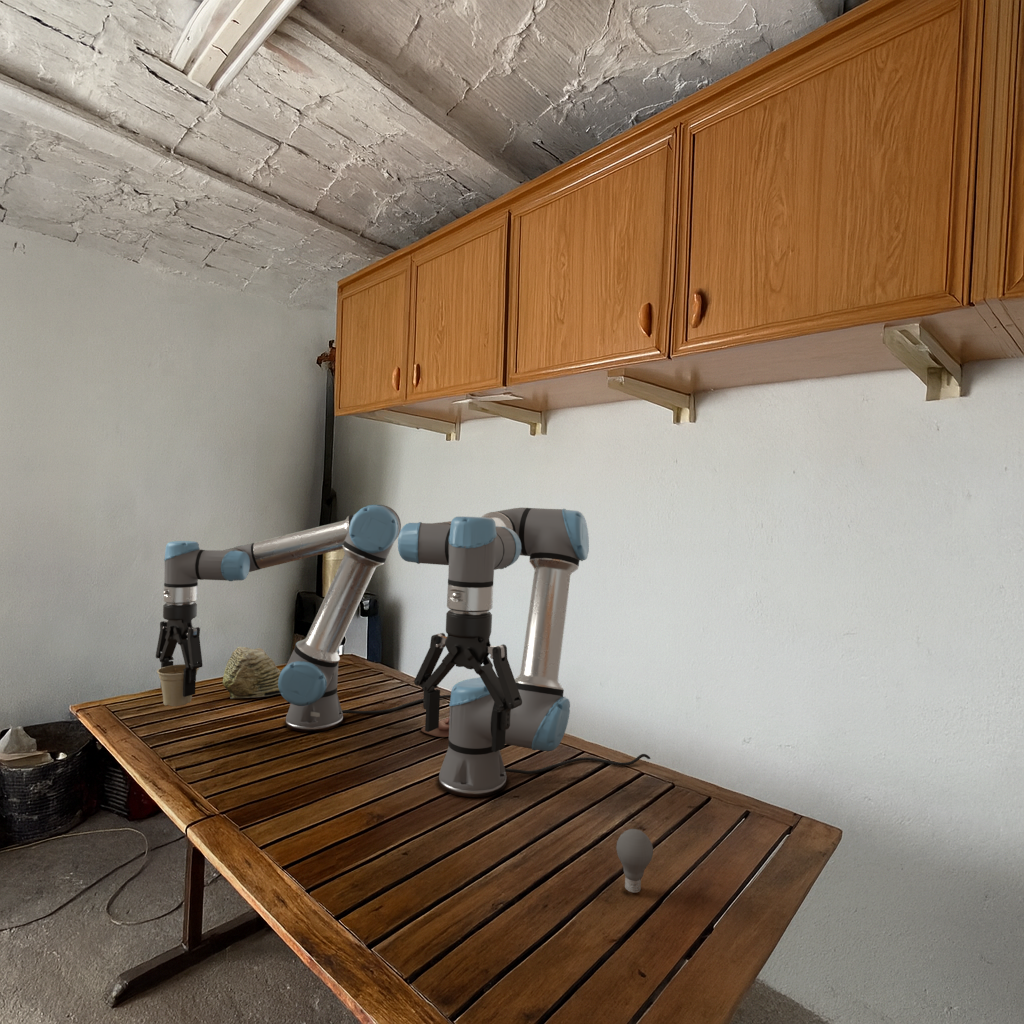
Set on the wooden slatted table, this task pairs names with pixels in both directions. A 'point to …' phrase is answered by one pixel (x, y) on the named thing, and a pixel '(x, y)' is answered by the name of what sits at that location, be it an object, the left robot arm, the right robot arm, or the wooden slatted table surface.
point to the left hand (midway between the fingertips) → (177, 691)
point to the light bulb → (634, 857)
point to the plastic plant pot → (173, 685)
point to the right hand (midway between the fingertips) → (463, 738)
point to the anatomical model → (440, 729)
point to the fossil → (251, 674)
